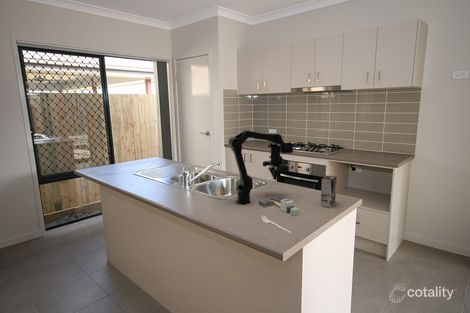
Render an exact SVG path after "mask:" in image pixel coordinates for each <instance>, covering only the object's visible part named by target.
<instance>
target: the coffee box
mask: <svg viewBox="0 0 470 313" xmlns="http://www.w3.org/2000/svg"><path fill="white" fill-rule="evenodd" d="M337 179H338V178H337V176H335V175H324V176H323V178H321V192H320V193H321V194H320V206H321V207H324V208H326V207H327V208H333V207H334V205H335V204H336V196H337V195H336V192H337Z"/></svg>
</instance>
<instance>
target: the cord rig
mask: <svg viewBox="0 0 470 313" xmlns="http://www.w3.org/2000/svg"><path fill="white" fill-rule="evenodd" d="M284 199H287V198H286V197H284V196H283V195H280V196H279V195H278V196H274V197H268V198H265V199H261V200H258V205H259V206H262V207H263V208H266V207H272V206H277V207H279V208H280V202H281V200H284ZM299 212H300V208H298V207H296V206H294V205H293V206H290V207H287V212H286V213H287V214H290V215H292V216H297V215H300V213H299Z"/></svg>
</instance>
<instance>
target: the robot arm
mask: <svg viewBox="0 0 470 313" xmlns="http://www.w3.org/2000/svg"><path fill="white" fill-rule="evenodd" d="M249 138H250V139H257V140H263V141H264V140H265V141H268V142H270V143H269V144H268V145H267V148H270V155H269V156H268V158H269V159H270V160H264V161H263V162H262V167H268V168H267V170H269V172H270V174H271V177H272V179H273V180H275V181H276V180H277V178H278V175H279V173H283V172H288V171H290V167H289V166H288V164H289V160H288V159H284V158H283V156H282V155H284V154H285V155H286V154H288V155H289V154H292V153H293V152H294V148H293V145H292V142H290V141H287V142H285V141H284V139H283V136H282V134H280V133H276V132H275V133H274V132H270V133H264V132H258V131H252V130H251V131H250V130H249V129H248V130H247V129H245V130H243V131H242V132H240V133H238V134H237V135H235V136H233V137H230V138H229V140H228V145H229V148H230V149H231V151H232V153H233V154H234V158H235V162H236V165H237V169H238V173H239V184H238V185H237V186H236V191H237V200H236V203H237V204H240V205H242V206H243V205H248V204H251V202H252V201H251V199H250V197H251V195H250V194H251V191H252V189H253V188H254V182H253V178H252V176H250V175H248V172H247V167H246V164H245V160H244V157H243V153H242V152H243V144H244V143H245V142H246V141H247V140H248V139H249ZM281 154H282V155H281Z"/></svg>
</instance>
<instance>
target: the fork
mask: <svg viewBox="0 0 470 313" xmlns="http://www.w3.org/2000/svg"><path fill="white" fill-rule="evenodd" d="M259 217H260V218H261V220H262V221H263V222H264V223H267V224H272V225H273V226H275V227H277V228H279V229H282V230H283V231H286V232H288V233H290V234H291V233H292V232H291V231H290V230H288V229H286V228H284V227H283V226H280V225H279V224H277V223H275V222H273V221H272V220H270V219H269V218H268V217H266V216H265V215H261V216H259Z"/></svg>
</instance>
